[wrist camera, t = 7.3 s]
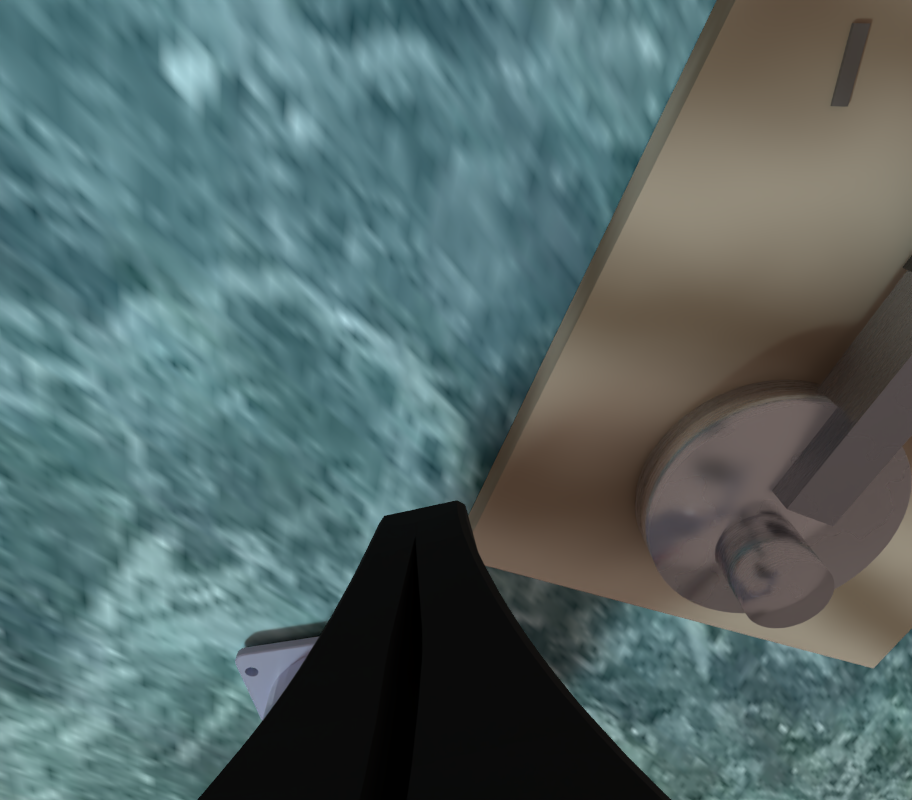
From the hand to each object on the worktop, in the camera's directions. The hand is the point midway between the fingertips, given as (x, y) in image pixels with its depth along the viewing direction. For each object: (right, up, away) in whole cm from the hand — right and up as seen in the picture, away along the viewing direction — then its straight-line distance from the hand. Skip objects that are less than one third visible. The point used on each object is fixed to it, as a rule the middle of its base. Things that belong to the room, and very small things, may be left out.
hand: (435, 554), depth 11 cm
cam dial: (+12, +2, +9) cm, 15 cm away
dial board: (+12, +3, +11) cm, 17 cm away
